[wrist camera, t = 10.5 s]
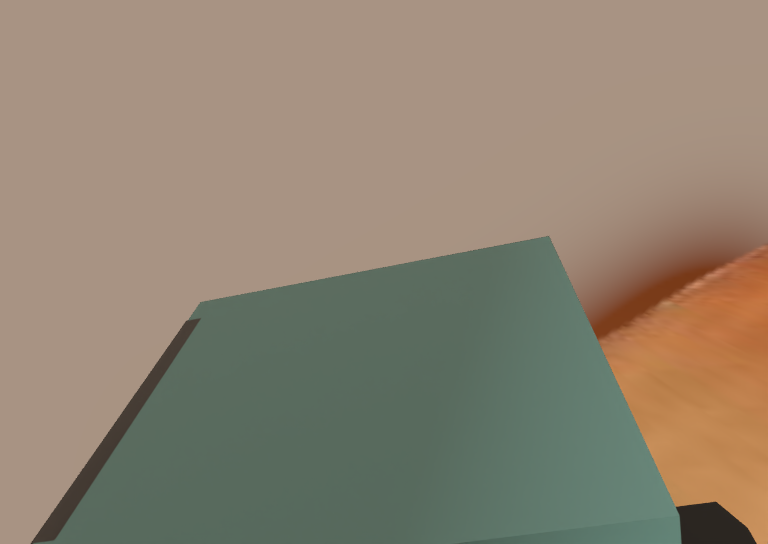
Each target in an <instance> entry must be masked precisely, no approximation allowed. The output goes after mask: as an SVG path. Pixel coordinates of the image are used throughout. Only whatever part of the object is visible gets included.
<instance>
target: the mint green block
mask: <svg viewBox="0 0 768 544" xmlns="http://www.w3.org/2000/svg"><path fill="white" fill-rule="evenodd" d="M31 544H681V530H680V516H679V514H678V511H677V509H676V507H675V505H674V503H673V501H672V499H671V496H670V494H669V492H668V490H667V488H666V486H665V484H664V481H663V479H662V477H661V475H660V473H659V471H658V469H657V466H656V464H655V462H654V460H653V458H652V456H651V454H650V451H649V449H648V447H647V445H646V443H645V441H644V439H643V436H642V434H641V432H640V430H639V428H638V426H637V424H636V421H635V419H634V417H633V415H632V413H631V411H630V409H629V406H628V404H627V402H626V400H625V398H624V396H623V394H622V391H621V389H620V387H619V385H618V383H617V381H616V379H615V376H614V374H613V372H612V370H611V368H610V366H609V364H608V361H607V359H606V357H605V355H604V353H603V351H602V349H601V346H600V344H599V342H598V340H597V338H596V336H595V334H594V331H593V329H592V327H591V325H590V323H589V321H588V319H587V316H586V314H585V312H584V310H583V308H582V306H581V304H580V301H579V299H578V297H577V295H576V293H575V291H574V289H573V286H572V284H571V282H570V280H569V278H568V276H567V274H566V272H565V269H564V267H563V265H562V263H561V261H560V259H559V256H558V254H557V252H556V250H555V248H554V246H553V244H552V242H551V239H550V237H549V236H547V237H541V238H537V239H531V240H526V241H520V242H515V243H510V244H505V245H500V246H494V247H489V248H483V249H478V250H473V251H468V252H463V253H457V254H452V255H447V256H441V257H436V258H431V259H426V260H420V261H415V262H410V263H405V264H399V265H394V266H389V267H383V268H378V269H373V270H368V271H362V272H357V273H352V274H347V275H342V276H336V277H331V278H325V279H320V280H315V281H310V282H305V283H299V284H294V285H289V286H283V287H278V288H273V289H267V290H263V291H257V292H252V293H247V294H241V295H236V296H231V297H226V298H220V299H215V300H210V301H204V302H200V304H199V305H198V307H197V308H196V310H195V311H194V312H193V314H192V315H191V317H190V318H189V320H188V321H186V322H185V324H184V325H183V326H182V328H181V329H180V331H179V332H178V334H177V335H176V336H175V338H174V339H173V341H172V342H171V344H170V345H169V346H168V348H167V349H166V351H165V352H164V354H163V355H162V356H161V358H160V359H159V361H158V362H157V364H156V365H155V367H154V368H153V369H152V371H151V372H150V374H149V375H148V377H147V378H146V379H145V381H144V382H143V384H142V385H141V386H140V388H139V389H138V391H137V392H136V394H135V395H134V396H133V398H132V399H131V401H130V402H129V404H128V405H127V407H126V408H125V409H124V411H123V412H122V414H121V415H120V417H119V418H118V419H117V421H116V422H115V424H114V425H113V427H112V428H111V429H110V431H109V432H108V434H107V435H106V437H105V438H104V439H103V441H102V443H101V444H100V445H99V447H98V448H97V449H96V451H95V452H94V454H93V455H92V457H91V458H90V460H89V461H88V462H87V464H86V465H85V467H84V468H83V470H82V471H81V472H80V474H79V475H78V477H77V478H76V480H75V481H74V482H73V484H72V485H71V487H70V488H69V490H68V491H67V492H66V494H65V495H64V497H63V498H62V500H61V501H60V503H59V504H58V505H57V507H56V508H55V510H54V511H53V512H52V514H51V515H50V517H49V518H48V520H47V521H46V523H45V524H44V525H43V527H42V528H41V530H40V531H39V533H38V534H37V535H36V537H35V538H34V540H33V541H32V543H31Z"/></svg>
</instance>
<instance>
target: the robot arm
mask: <svg viewBox="0 0 768 544" xmlns="http://www.w3.org/2000/svg"><path fill="white" fill-rule="evenodd" d="M676 509H677V511H678V514H679V516H680V530H681V544H757V543H756V542H755V540H754V538H753V537H752V535H751V533H750V531H749V530H748V528H747V527H746V526H745V525H744V524H742V523H741V522H740V521H739V520H737V519H736V518H735V517H734V516H733V515H731V514H730V513H729V512H728V511H727V510H725V509H724V508H723V507H722V506H721V505H719V504H718V503H717V502H710V503H702V504H694V505H687V506H679V507H676Z"/></svg>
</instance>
